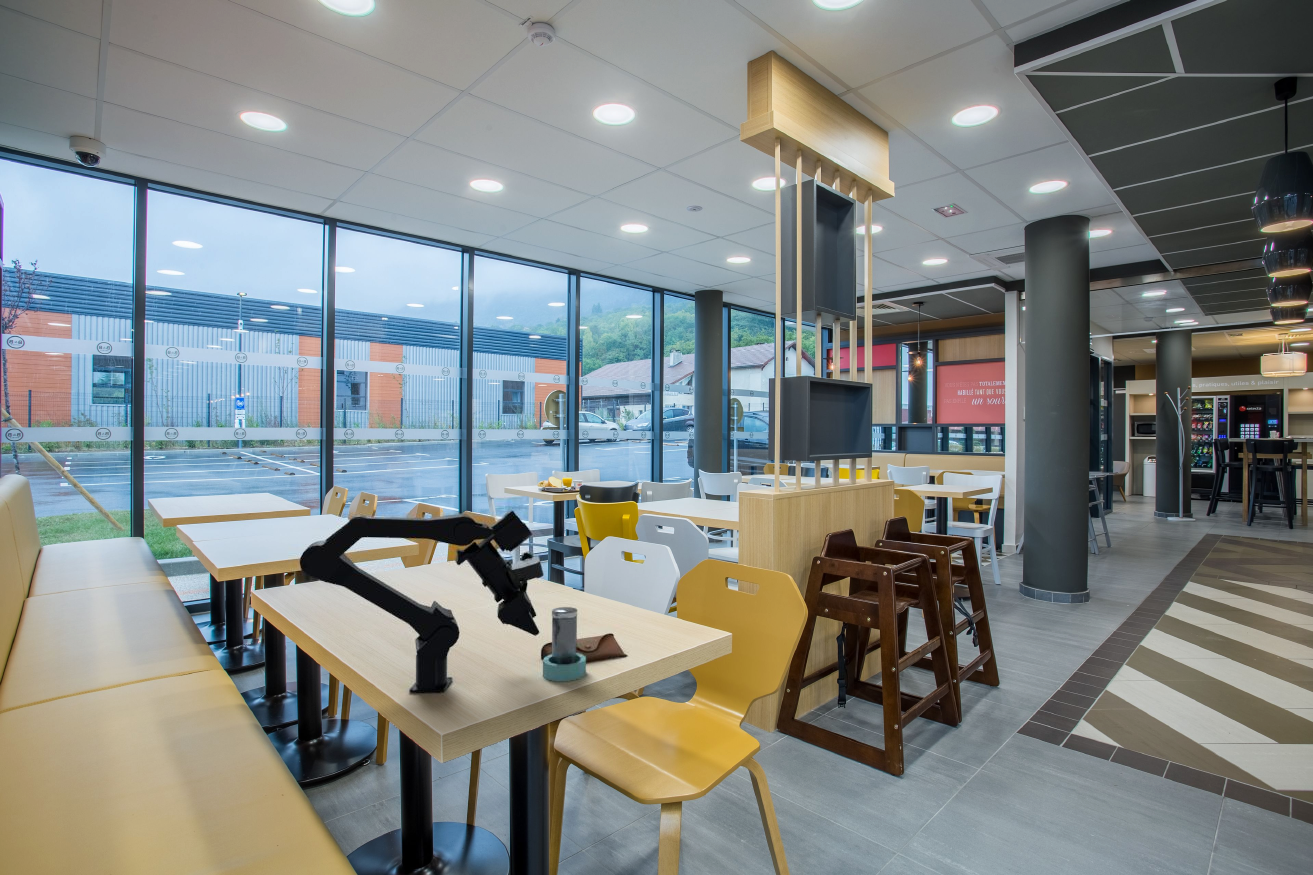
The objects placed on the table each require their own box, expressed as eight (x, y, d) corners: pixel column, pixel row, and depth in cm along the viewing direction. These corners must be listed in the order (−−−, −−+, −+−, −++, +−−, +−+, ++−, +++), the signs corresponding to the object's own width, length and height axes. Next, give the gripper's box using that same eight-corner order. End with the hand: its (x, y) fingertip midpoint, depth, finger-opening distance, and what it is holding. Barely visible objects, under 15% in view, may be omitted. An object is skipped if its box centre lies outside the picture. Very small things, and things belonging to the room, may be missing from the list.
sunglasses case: (554, 669, 132) (548, 637, 135) (544, 678, 137) (538, 647, 140) (630, 655, 141) (623, 625, 144) (618, 663, 146) (611, 635, 149)
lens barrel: (574, 678, 127) (574, 613, 127) (548, 677, 127) (549, 612, 127) (579, 669, 132) (579, 607, 132) (554, 669, 132) (555, 606, 133)
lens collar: (584, 680, 126) (584, 665, 126) (540, 681, 125) (540, 666, 125) (586, 666, 134) (586, 651, 134) (546, 666, 134) (546, 652, 134)
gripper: (527, 556, 119) (574, 618, 123) (522, 531, 137) (563, 586, 141) (477, 592, 118) (525, 654, 121) (479, 562, 136) (521, 617, 139)
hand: (536, 625), depth 131 cm, fingers open, 9 cm apart
